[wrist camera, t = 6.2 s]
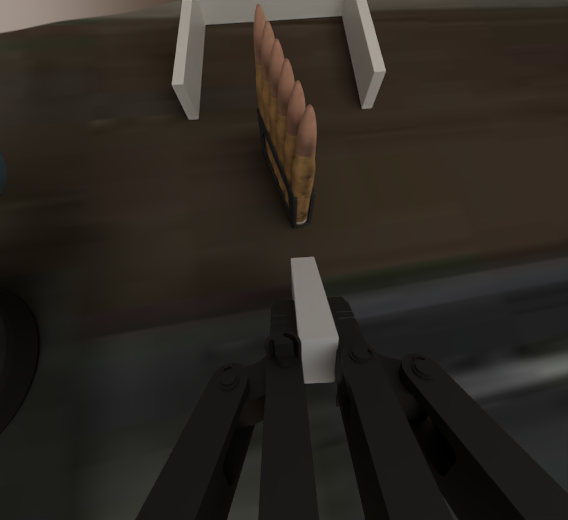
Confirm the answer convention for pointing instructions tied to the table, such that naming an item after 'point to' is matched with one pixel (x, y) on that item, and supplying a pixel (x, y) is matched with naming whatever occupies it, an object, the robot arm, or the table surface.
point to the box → (276, 6)
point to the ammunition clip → (284, 124)
